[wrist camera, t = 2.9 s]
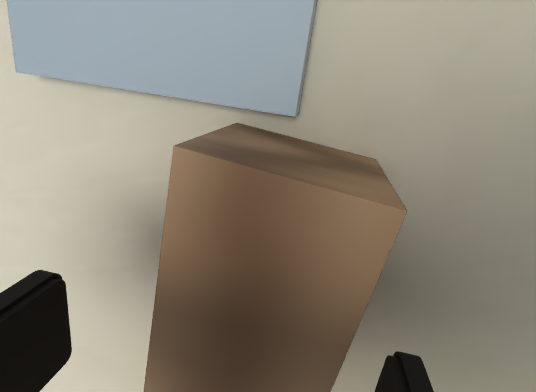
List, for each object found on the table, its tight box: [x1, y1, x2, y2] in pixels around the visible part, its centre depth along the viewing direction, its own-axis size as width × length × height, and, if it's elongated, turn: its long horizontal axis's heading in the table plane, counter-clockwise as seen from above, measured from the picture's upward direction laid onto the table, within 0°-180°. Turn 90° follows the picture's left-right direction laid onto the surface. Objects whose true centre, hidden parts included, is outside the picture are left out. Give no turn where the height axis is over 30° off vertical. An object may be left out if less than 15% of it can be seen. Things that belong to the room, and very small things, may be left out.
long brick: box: [144, 123, 407, 392], centre depth 12 cm, size 6×10×6 cm, turn 167°
